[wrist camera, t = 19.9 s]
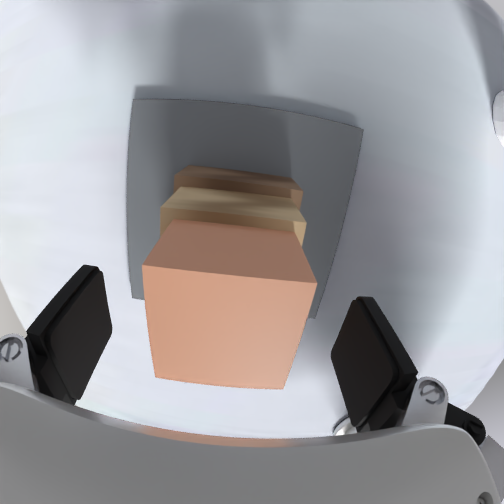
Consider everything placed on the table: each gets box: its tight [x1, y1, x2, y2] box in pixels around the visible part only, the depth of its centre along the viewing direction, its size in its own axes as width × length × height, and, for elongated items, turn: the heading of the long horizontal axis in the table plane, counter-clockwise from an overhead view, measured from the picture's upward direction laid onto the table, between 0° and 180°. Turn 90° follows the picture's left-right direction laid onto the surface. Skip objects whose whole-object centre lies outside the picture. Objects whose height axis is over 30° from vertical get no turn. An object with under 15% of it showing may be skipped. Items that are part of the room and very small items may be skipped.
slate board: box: [127, 99, 364, 318], centre depth 20 cm, size 16×16×1 cm
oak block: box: [160, 186, 307, 247], centre depth 14 cm, size 6×6×4 cm
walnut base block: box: [173, 165, 303, 211], centre depth 18 cm, size 7×7×4 cm
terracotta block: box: [142, 219, 317, 389], centre depth 10 cm, size 5×5×4 cm
